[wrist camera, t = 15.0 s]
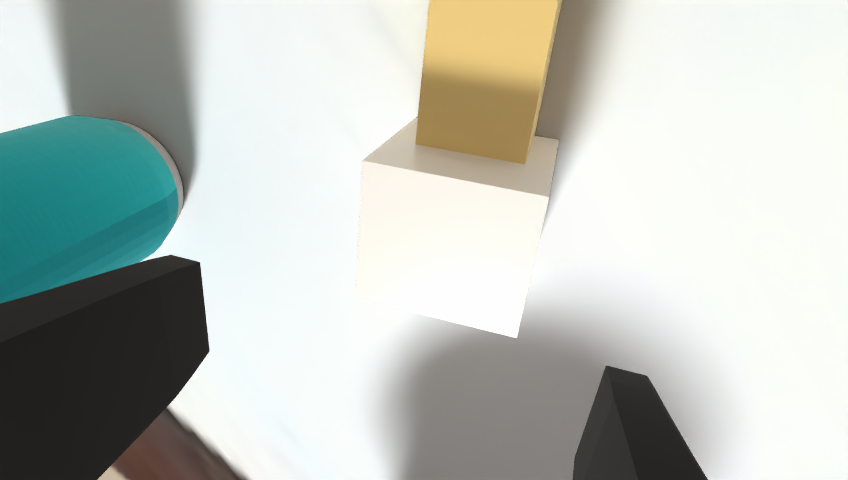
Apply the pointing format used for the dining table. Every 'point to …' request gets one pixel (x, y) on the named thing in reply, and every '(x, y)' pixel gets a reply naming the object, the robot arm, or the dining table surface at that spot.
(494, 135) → the plug
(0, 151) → the beverage can
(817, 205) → the dining table surface
